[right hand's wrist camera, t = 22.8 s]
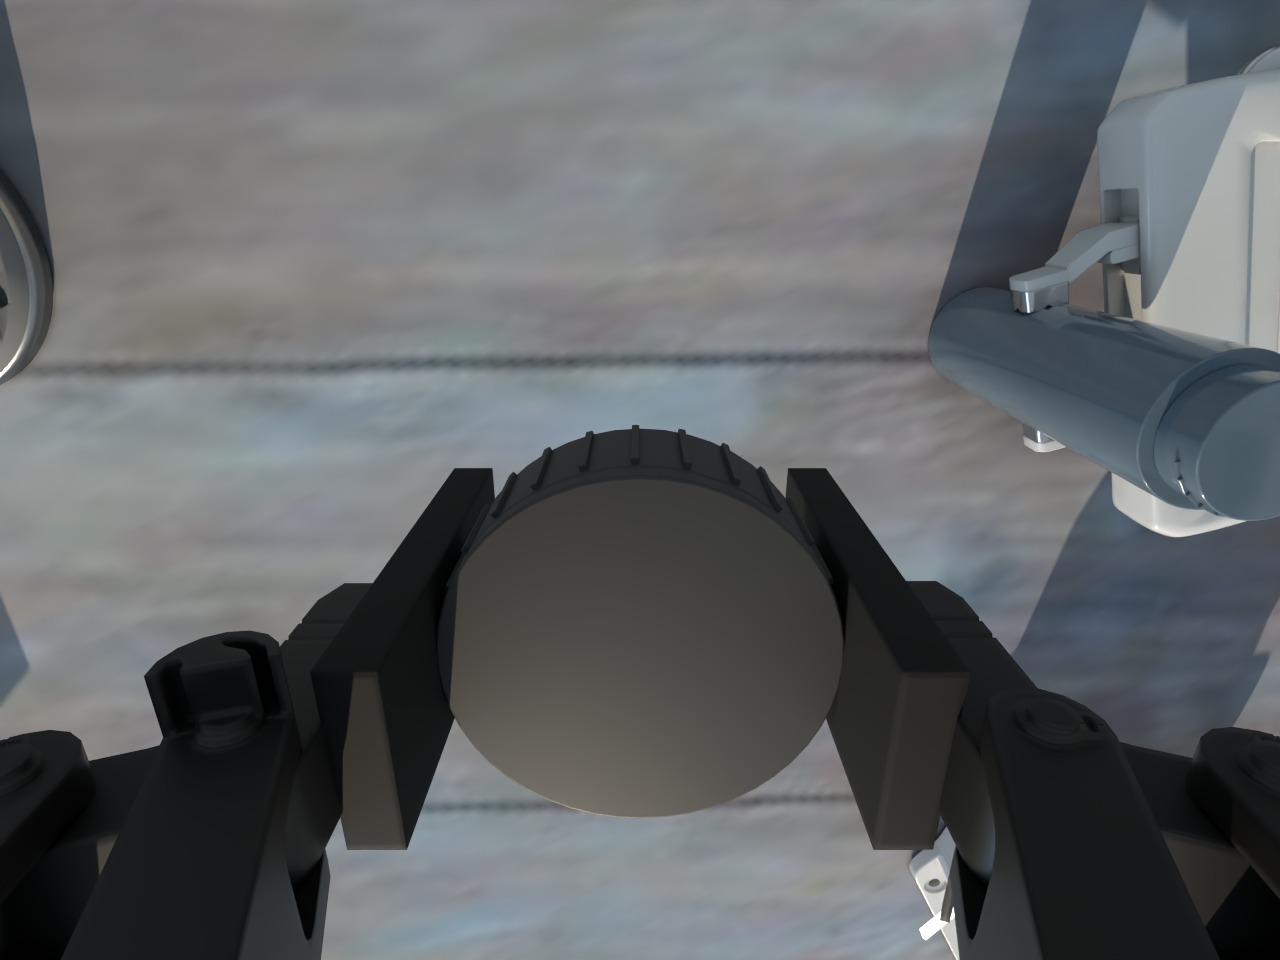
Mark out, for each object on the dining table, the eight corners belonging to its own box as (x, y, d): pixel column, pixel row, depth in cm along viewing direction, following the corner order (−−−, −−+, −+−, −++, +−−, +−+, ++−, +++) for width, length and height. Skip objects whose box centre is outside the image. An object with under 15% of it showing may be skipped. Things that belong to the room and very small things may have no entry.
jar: (955, 403, 40) (1216, 567, 22) (910, 326, 38) (1152, 433, 20) (1043, 348, 39) (1396, 471, 21) (1001, 265, 37) (1344, 322, 19)
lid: (776, 379, 11) (808, 419, 9) (841, 690, 13) (877, 780, 11) (412, 475, 11) (363, 532, 9) (531, 757, 13) (511, 854, 11)
